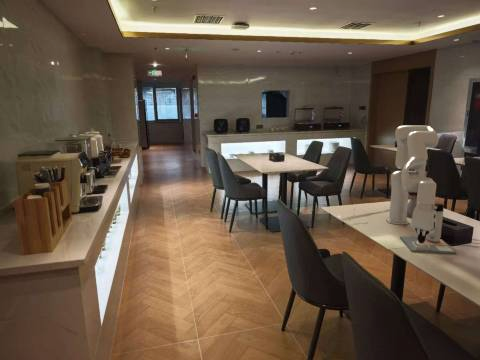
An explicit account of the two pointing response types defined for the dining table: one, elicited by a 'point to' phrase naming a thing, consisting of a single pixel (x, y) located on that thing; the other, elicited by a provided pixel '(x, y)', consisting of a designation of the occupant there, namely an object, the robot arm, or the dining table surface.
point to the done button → (421, 244)
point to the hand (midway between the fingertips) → (421, 242)
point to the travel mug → (437, 225)
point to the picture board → (427, 246)
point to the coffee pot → (411, 205)
